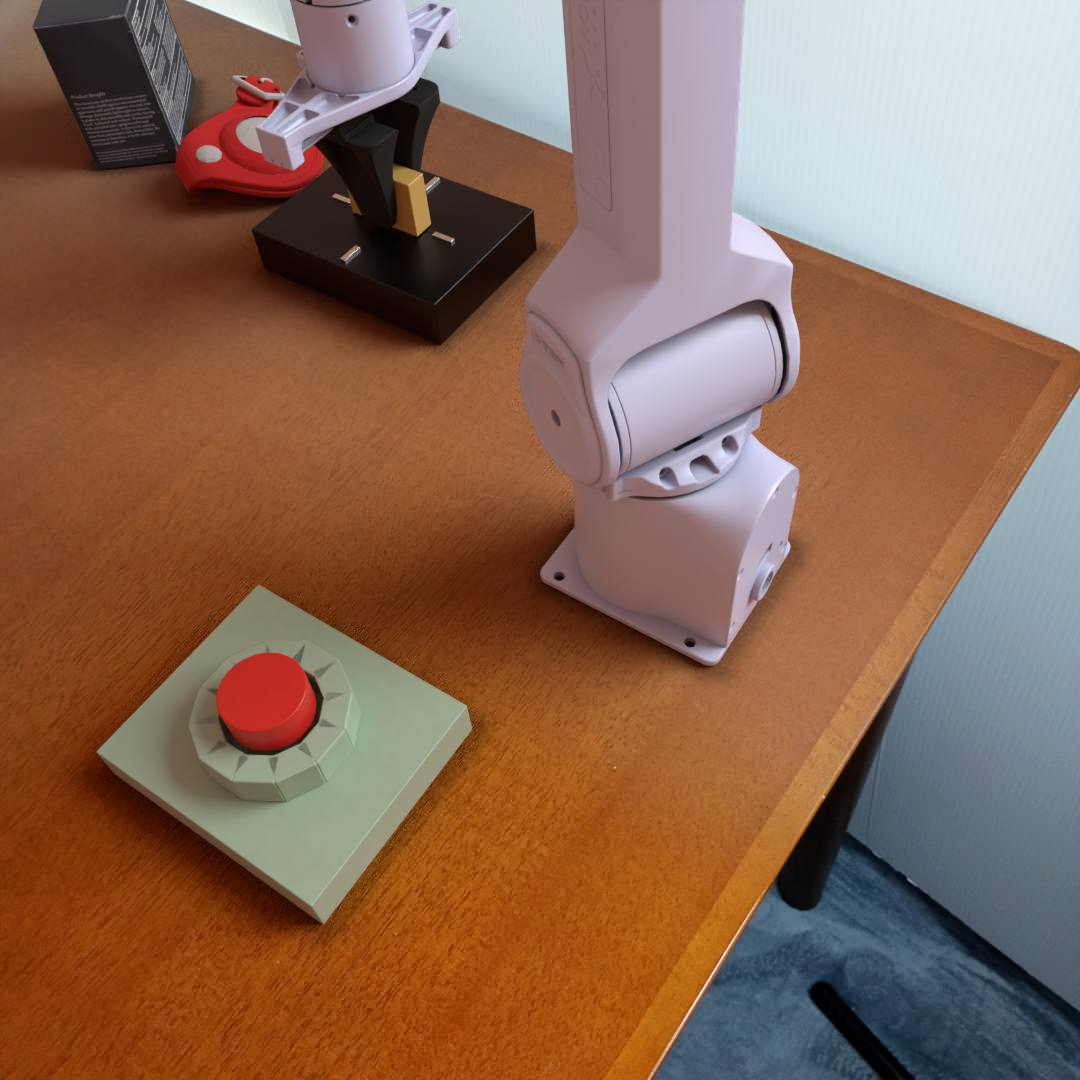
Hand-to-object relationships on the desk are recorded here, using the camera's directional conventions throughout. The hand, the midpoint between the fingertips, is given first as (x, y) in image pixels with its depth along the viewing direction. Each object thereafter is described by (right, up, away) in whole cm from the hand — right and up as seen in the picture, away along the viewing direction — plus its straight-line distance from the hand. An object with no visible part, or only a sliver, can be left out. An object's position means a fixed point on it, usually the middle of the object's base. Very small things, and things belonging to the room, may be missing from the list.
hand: (390, 211), depth 64 cm
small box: (-20, +10, +14) cm, 26 cm away
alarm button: (-2, -27, -20) cm, 34 cm away
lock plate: (0, -2, +3) cm, 3 cm away
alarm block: (-2, -29, -17) cm, 34 cm away
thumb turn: (0, 0, 0) cm, 0 cm away
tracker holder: (-10, +7, +10) cm, 16 cm away
